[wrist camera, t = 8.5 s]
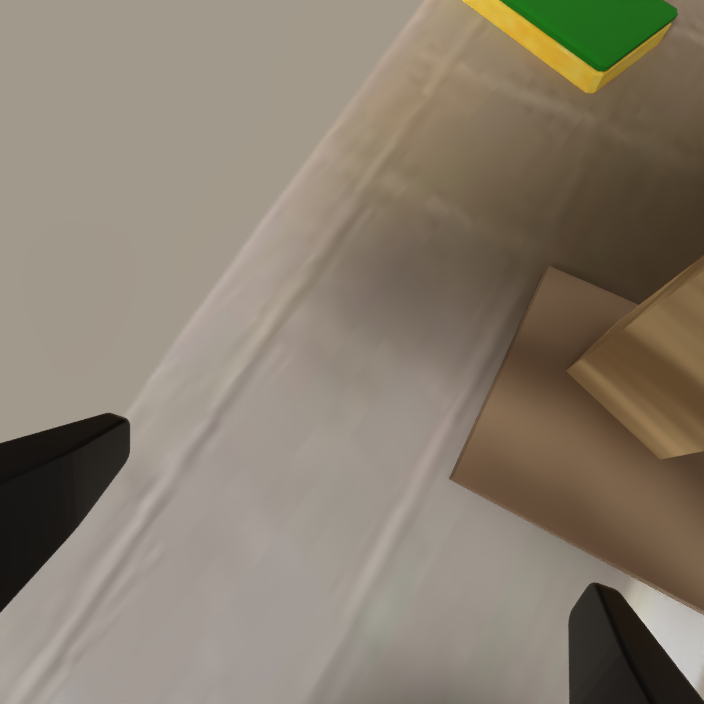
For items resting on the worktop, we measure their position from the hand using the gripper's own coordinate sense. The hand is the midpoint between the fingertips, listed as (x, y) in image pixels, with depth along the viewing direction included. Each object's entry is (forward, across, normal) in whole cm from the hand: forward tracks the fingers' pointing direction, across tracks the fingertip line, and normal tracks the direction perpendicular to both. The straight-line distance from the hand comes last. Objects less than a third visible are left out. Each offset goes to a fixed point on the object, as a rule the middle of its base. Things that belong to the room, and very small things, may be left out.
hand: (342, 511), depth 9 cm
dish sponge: (+35, -2, -14) cm, 38 cm away
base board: (+15, -11, +4) cm, 19 cm away
